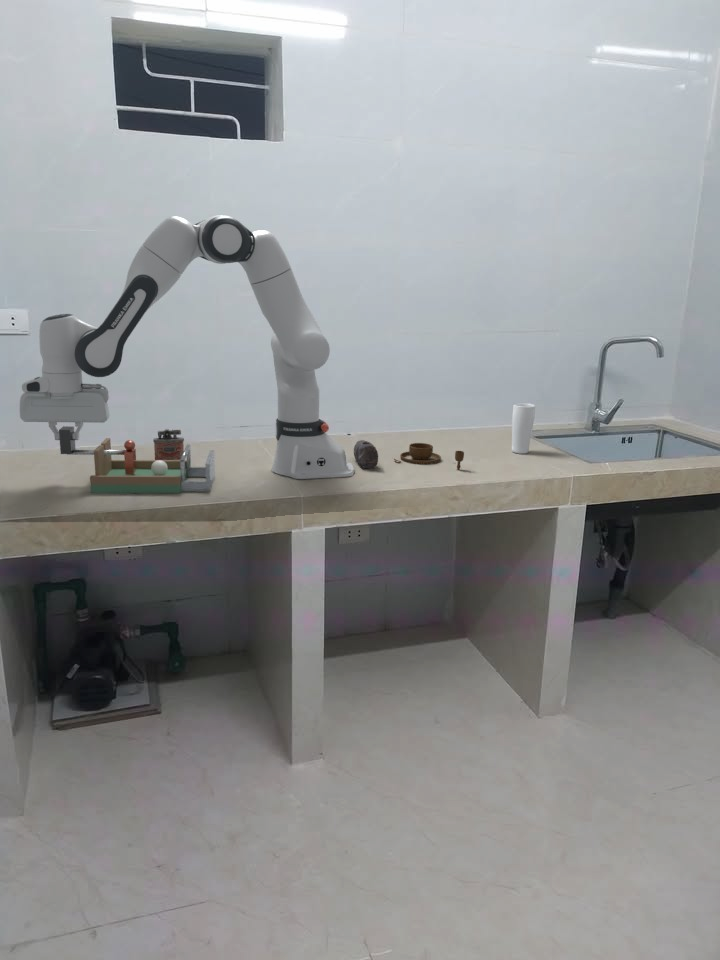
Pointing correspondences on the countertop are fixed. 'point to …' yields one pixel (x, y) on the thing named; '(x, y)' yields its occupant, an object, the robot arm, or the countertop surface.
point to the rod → (69, 448)
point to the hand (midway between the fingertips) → (67, 439)
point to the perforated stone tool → (365, 454)
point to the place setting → (426, 455)
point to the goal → (197, 473)
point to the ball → (159, 468)
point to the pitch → (132, 475)
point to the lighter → (168, 445)
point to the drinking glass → (522, 427)
